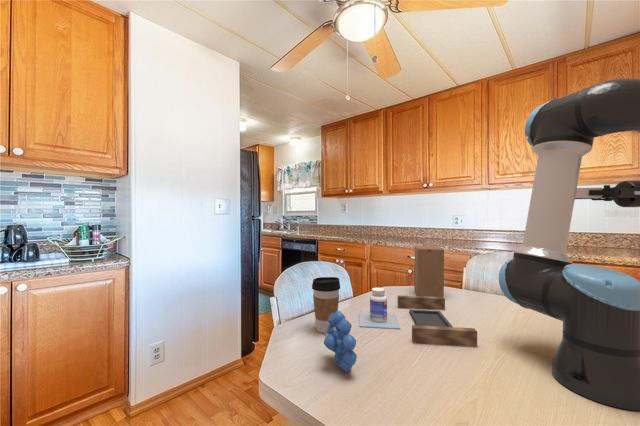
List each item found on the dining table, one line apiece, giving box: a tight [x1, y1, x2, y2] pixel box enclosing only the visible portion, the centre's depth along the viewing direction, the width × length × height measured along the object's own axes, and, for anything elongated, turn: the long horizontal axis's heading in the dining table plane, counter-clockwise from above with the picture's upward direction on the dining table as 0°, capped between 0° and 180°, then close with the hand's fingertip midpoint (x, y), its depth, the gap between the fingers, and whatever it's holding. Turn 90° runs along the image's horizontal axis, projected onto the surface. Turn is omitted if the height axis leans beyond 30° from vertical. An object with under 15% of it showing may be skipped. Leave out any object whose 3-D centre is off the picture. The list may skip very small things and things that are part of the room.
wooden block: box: [413, 245, 445, 298], centre depth 118 cm, size 10×10×20 cm
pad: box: [358, 311, 401, 330], centre depth 92 cm, size 12×12×1 cm
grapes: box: [323, 310, 358, 373], centre depth 65 cm, size 12×7×12 cm, turn 22°
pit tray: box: [408, 309, 454, 327], centre depth 90 cm, size 10×16×1 cm, turn 173°
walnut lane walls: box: [397, 295, 478, 348], centre depth 90 cm, size 16×29×4 cm, turn 173°
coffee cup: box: [311, 276, 341, 334], centre depth 85 cm, size 8×8×15 cm
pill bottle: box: [369, 287, 388, 322], centre depth 92 cm, size 5×5×10 cm
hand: (556, 194), depth 84 cm, fingers open, 13 cm apart
